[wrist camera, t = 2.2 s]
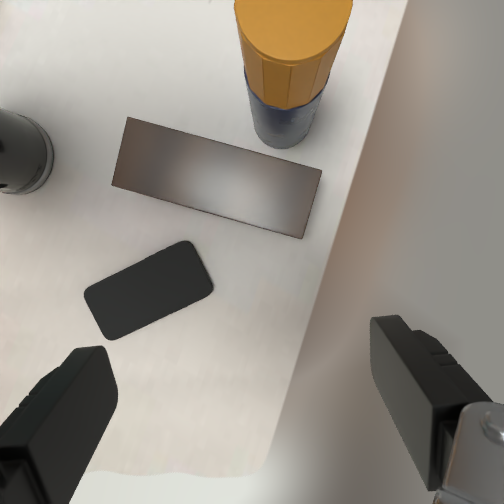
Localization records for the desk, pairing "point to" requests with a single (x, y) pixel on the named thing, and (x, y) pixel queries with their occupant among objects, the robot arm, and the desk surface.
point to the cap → (290, 46)
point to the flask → (281, 120)
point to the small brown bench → (216, 177)
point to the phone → (148, 290)
